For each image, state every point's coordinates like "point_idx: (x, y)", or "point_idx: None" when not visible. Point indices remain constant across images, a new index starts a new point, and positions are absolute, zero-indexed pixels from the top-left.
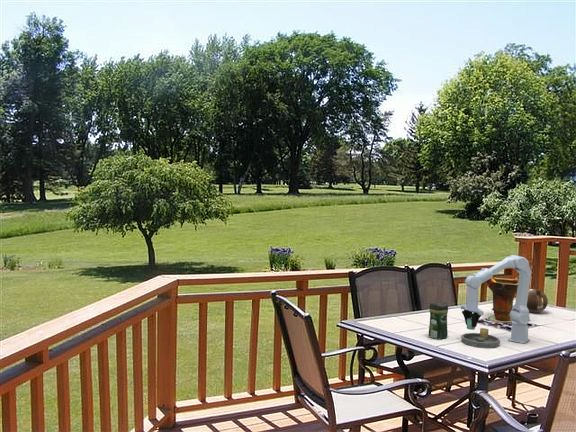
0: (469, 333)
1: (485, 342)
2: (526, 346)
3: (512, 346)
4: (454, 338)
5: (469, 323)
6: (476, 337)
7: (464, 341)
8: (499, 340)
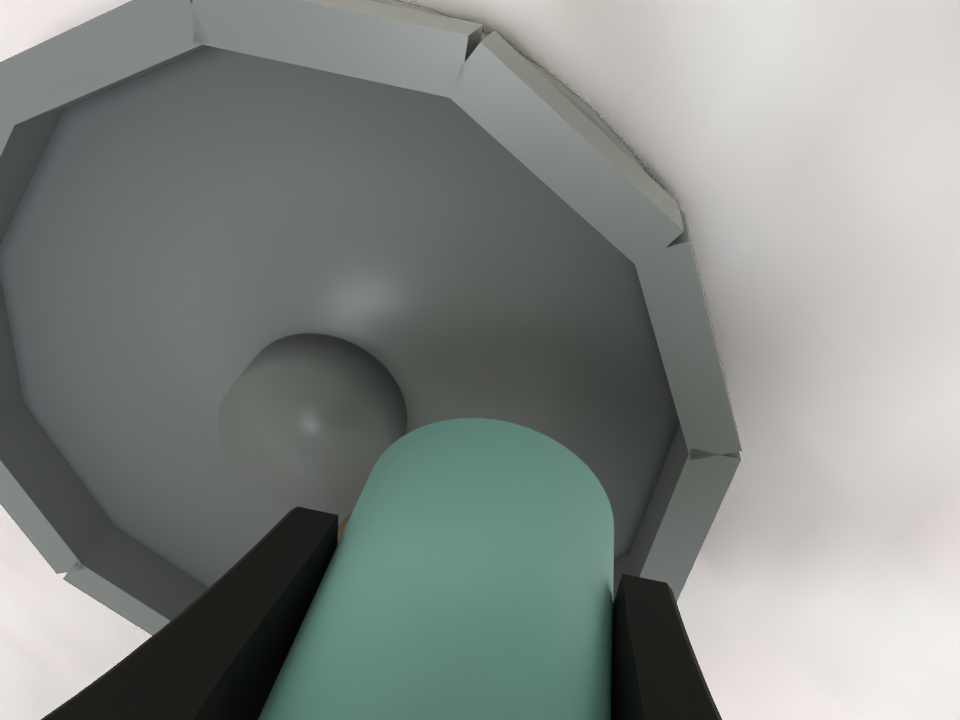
0: (676, 533)
1: (200, 398)
2: (21, 711)
3: (43, 603)
4: (885, 164)
5: (389, 575)
6: (358, 404)
7: (390, 4)
8: (63, 571)
